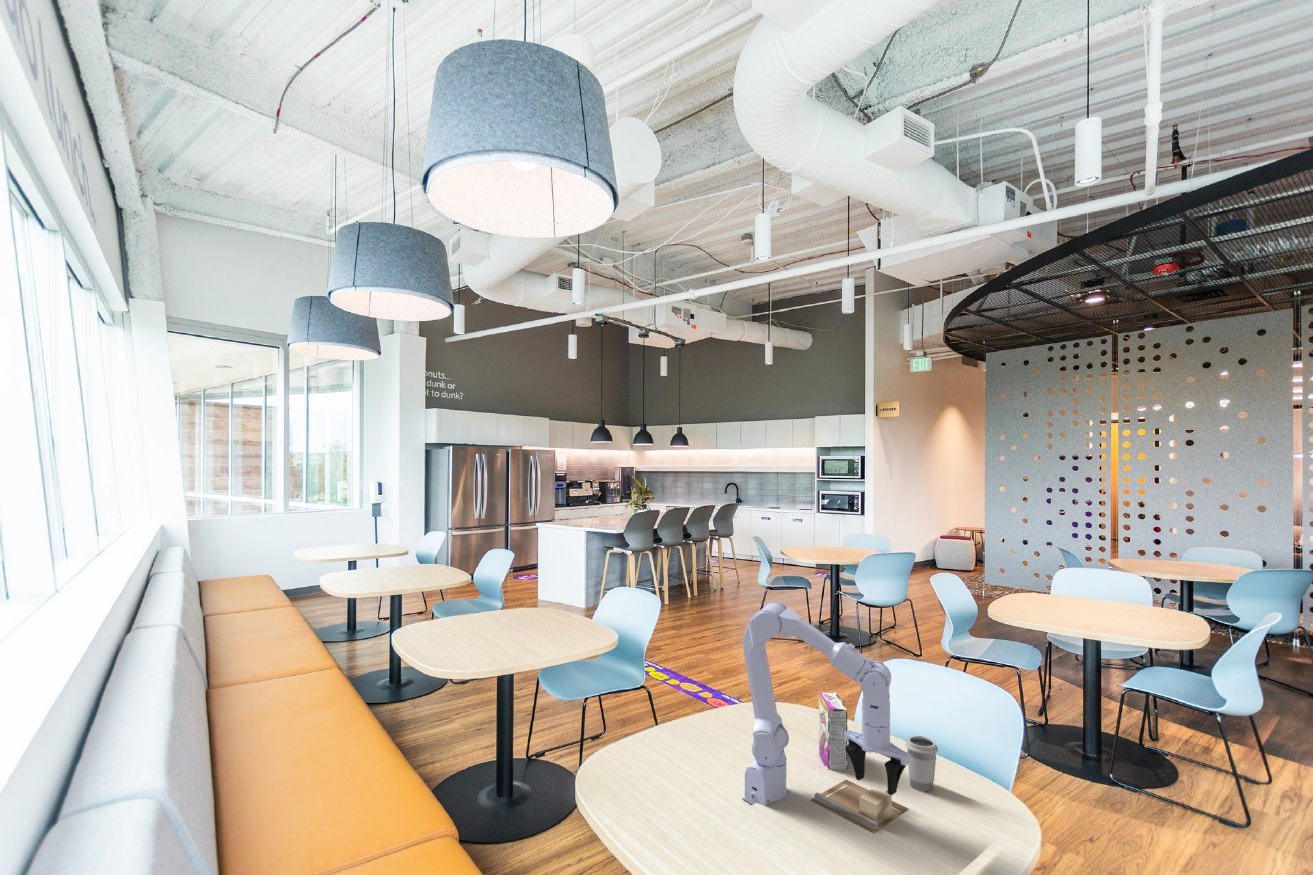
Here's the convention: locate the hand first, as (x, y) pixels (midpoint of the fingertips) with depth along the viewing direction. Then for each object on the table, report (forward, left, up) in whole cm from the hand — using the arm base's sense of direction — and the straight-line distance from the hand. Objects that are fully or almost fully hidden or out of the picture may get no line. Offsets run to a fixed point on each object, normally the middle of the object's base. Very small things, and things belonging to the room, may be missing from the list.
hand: (875, 785), depth 141 cm
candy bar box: (+14, +21, -9) cm, 27 cm away
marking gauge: (+2, 0, -7) cm, 7 cm away
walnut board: (+1, +5, -8) cm, 10 cm away
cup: (+19, 0, -8) cm, 21 cm away
